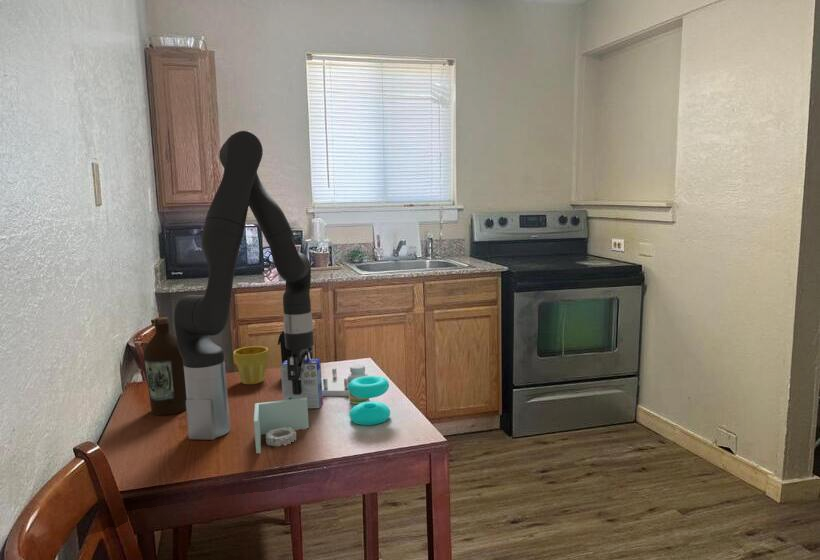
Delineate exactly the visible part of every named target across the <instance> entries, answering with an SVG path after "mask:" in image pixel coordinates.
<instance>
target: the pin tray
mask: <svg viewBox="0 0 820 560" xmlns="http://www.w3.org/2000/svg"><path fill="white" fill-rule="evenodd" d="M331 370H332V372H331V373H332V377H321V379H322V394H323V397H324V396H325V397H349V390H348V377H338V373H337V368H332V369H331Z"/></svg>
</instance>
